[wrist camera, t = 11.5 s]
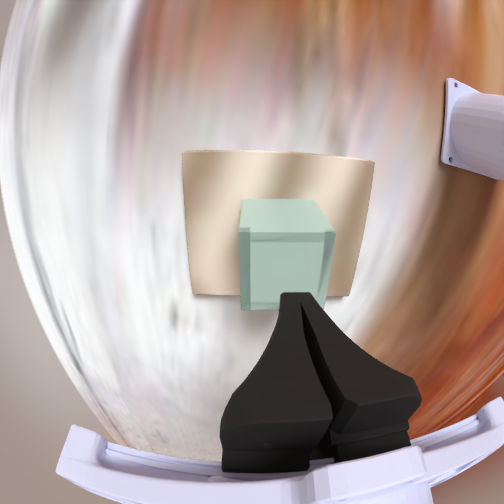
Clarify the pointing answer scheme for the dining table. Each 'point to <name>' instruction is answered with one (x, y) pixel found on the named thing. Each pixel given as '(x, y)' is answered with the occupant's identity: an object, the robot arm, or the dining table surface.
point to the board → (269, 187)
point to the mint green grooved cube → (283, 251)
